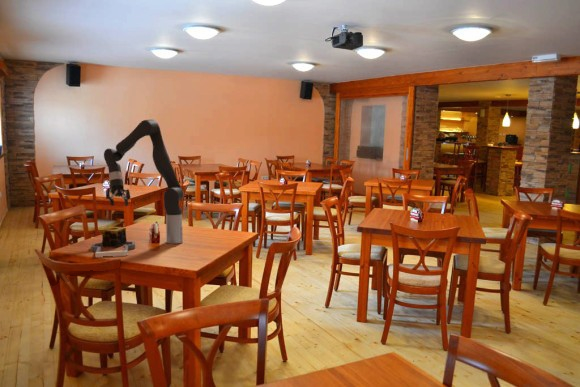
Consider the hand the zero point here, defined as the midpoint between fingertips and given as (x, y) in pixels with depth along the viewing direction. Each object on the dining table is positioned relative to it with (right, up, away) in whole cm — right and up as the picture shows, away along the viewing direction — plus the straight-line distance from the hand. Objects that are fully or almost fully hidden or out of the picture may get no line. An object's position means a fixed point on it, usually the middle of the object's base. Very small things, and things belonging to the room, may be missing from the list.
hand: (119, 206), depth 288 cm
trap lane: (+3, -25, -18) cm, 31 cm away
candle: (-1, -23, -6) cm, 24 cm away
